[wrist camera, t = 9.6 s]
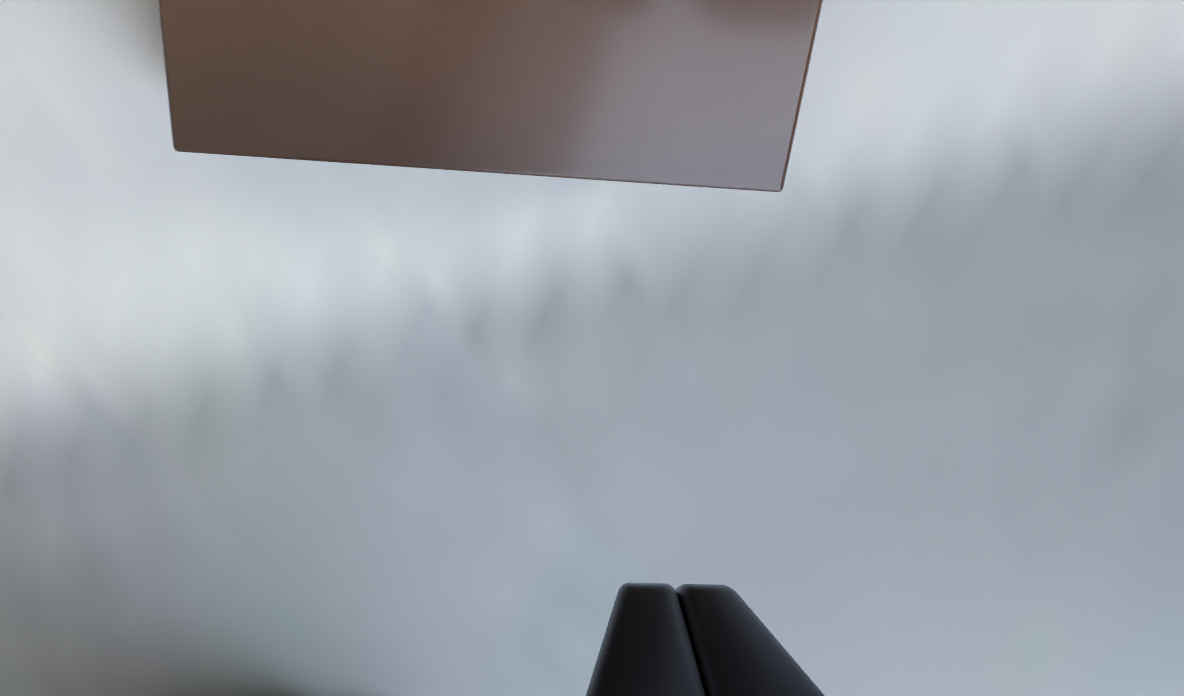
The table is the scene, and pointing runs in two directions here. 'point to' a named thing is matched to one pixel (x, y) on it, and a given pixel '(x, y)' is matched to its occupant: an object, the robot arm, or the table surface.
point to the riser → (497, 85)
